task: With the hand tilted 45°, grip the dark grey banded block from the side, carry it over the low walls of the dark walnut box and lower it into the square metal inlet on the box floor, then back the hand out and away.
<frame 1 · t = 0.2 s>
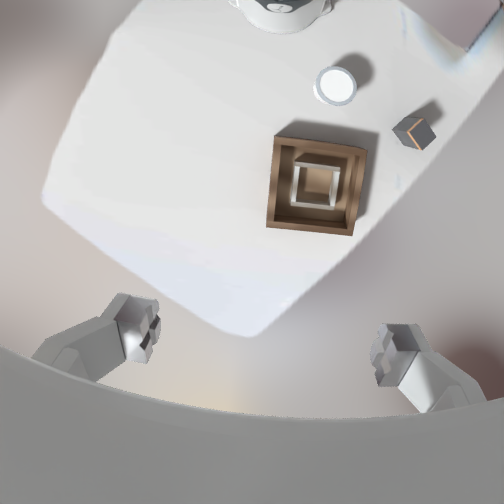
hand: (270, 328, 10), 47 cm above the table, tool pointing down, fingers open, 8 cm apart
walnut box: (312, 182, 55), on the table
white cup: (328, 89, 47), on the table
dark grey banded block: (404, 131, 49), on the table
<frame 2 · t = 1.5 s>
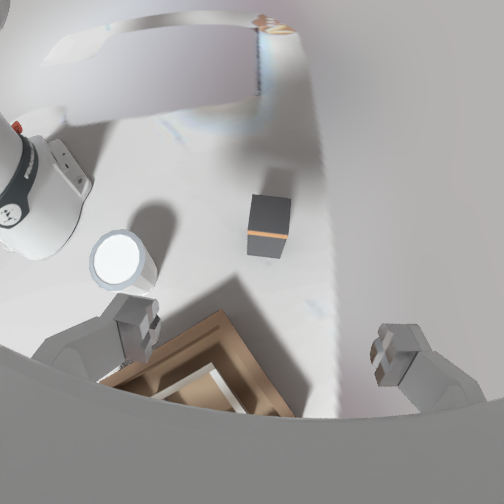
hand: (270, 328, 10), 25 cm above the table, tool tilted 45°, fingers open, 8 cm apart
walnut box: (204, 406, 31), on the table
white cup: (137, 275, 36), on the table
dark grey banded block: (265, 241, 38), on the table
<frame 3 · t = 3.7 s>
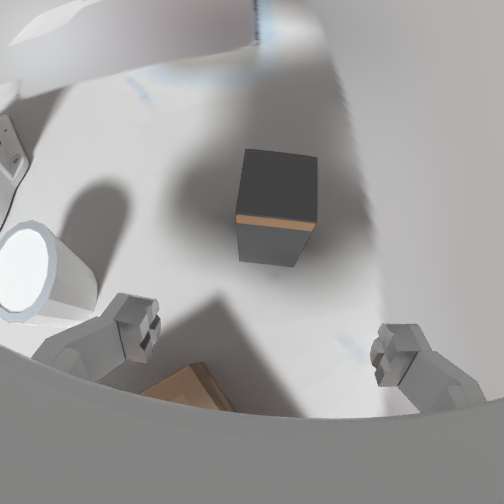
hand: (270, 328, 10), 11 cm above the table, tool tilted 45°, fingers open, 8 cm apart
walnut box: (175, 495, 16), on the table
white cup: (71, 293, 21), on the table
dark grey banded block: (268, 238, 23), on the table
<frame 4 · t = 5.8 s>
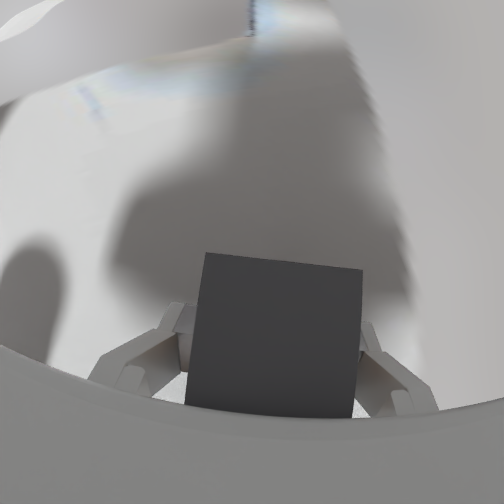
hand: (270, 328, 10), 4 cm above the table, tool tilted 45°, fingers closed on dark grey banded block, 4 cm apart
dark grey banded block: (262, 348, 14), on the table, touching gripper
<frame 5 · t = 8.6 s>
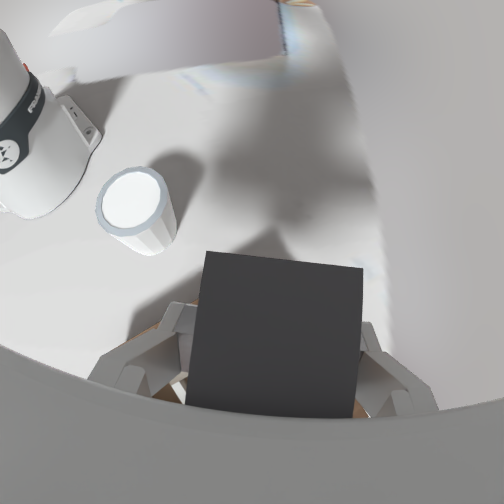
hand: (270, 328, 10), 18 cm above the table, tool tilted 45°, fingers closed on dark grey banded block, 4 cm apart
walnut box: (234, 389, 26), on the table
white cup: (152, 230, 31), on the table
dark grey banded block: (262, 347, 14), point 13 cm above the table, touching gripper
when the fingers open (7 cm above the table, at t = 11.3 s): dark grey banded block drops 1 cm, resting on walnut box.
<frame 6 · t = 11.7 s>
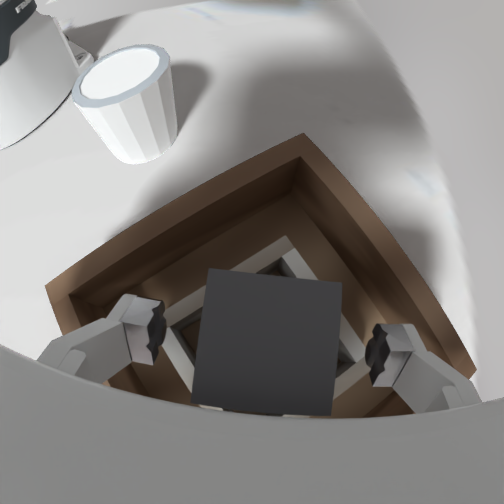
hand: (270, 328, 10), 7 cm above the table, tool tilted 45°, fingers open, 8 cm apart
walnut box: (260, 349, 17), on the table
white cup: (144, 137, 22), on the table
dark grey banded block: (259, 348, 16), point 1 cm above the table, touching walnut box
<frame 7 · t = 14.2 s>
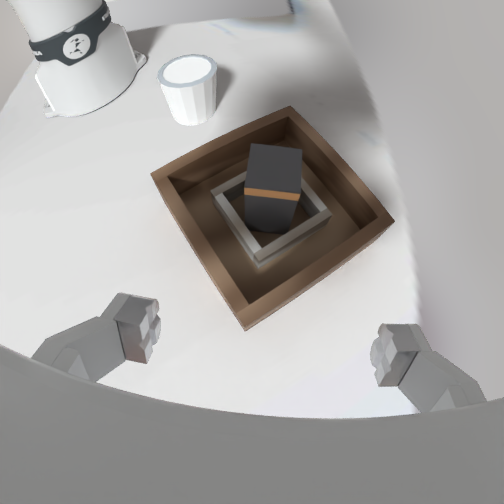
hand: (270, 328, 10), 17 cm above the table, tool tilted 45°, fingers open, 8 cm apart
walnut box: (268, 218, 30), on the table
white cup: (194, 111, 35), on the table
dark grey banded block: (268, 213, 29), point 1 cm above the table, touching walnut box
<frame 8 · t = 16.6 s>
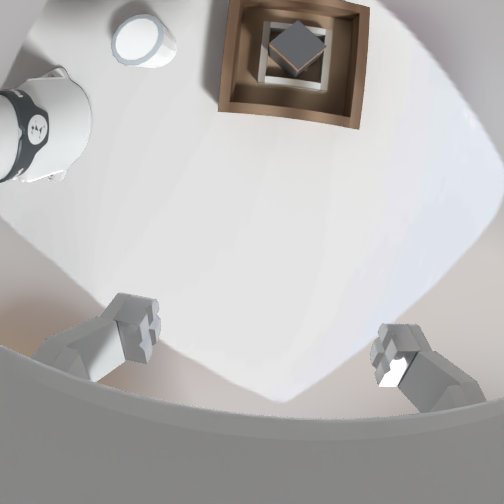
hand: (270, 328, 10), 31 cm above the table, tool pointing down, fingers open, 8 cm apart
walnut box: (293, 59, 32), on the table
white cup: (158, 49, 32), on the table
dark grey banded block: (293, 58, 31), point 1 cm above the table, touching walnut box
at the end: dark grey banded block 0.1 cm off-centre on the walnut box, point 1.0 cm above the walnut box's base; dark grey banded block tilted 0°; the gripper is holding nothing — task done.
